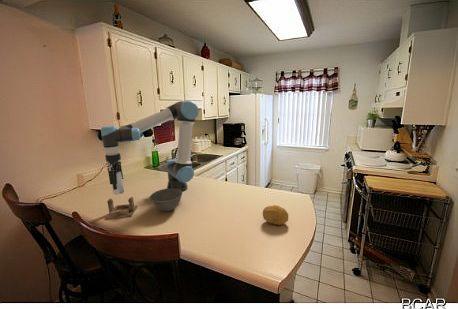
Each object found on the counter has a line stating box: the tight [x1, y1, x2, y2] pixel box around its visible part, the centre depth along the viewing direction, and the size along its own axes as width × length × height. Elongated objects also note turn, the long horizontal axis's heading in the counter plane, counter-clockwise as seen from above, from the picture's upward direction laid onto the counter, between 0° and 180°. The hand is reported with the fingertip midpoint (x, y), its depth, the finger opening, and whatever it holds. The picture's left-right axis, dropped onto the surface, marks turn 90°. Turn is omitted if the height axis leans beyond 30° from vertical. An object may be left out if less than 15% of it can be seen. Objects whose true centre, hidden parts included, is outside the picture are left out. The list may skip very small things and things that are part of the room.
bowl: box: [149, 188, 183, 212], centre depth 131 cm, size 19×19×10 cm
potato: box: [262, 204, 289, 226], centre depth 112 cm, size 10×13×9 cm
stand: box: [105, 196, 138, 220], centre depth 129 cm, size 14×12×9 cm
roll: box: [111, 172, 125, 195], centre depth 126 cm, size 6×6×12 cm
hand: (118, 192), depth 127 cm, fingers closed on roll, 5 cm apart
